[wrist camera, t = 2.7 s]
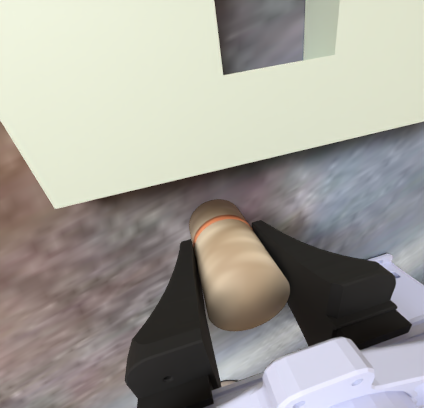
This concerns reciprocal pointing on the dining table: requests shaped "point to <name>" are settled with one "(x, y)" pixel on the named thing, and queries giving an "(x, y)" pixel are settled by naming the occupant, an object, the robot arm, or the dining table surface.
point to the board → (192, 89)
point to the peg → (235, 268)
